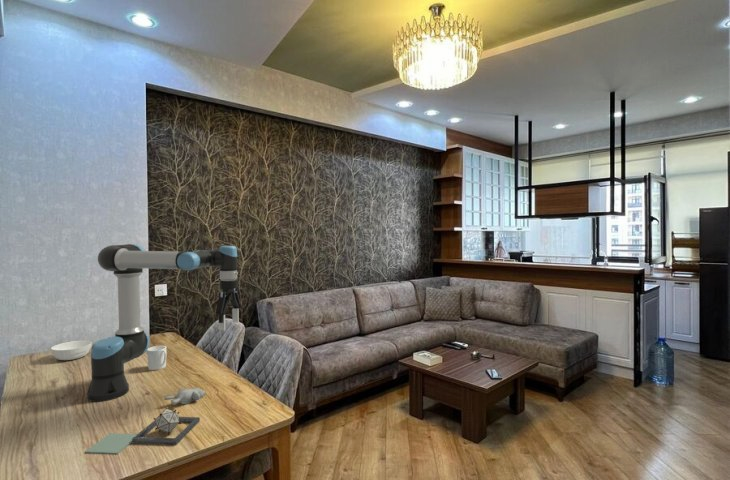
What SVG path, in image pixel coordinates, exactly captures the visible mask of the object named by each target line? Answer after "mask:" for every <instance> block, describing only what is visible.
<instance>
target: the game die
mask: <svg viewBox="0 0 730 480" xmlns="http://www.w3.org/2000/svg"><path fill="white" fill-rule="evenodd" d="M179 414H180V411H178V412H177V409H174V410H173V409H171V408H170V409H169V408H168V406H165V409H164V410H163V411H162V412H160V413H159V415H158V416H157V417H154V418H153V420H154V421H155V420H156V427H154V428H155V429H154V430H158V433H161V431H162V432H164V433H167V435H168V436H170V433H171V432H172V430H174V429H175V428H176V427H177V426H178V425H179V424H182V423H183V422H179V417H180V416H179Z"/></svg>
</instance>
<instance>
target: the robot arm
mask: <svg viewBox="0 0 730 480" xmlns="http://www.w3.org/2000/svg"><path fill="white" fill-rule="evenodd" d="M97 262H98V265H99V266H100V268H102V269H103V270H105V271H109V272H113V275H114V276H115V277H117V301H118V302H117V304H118V309H117V311H118V329H117V330H116V331H115V332H114V335H115V336H110V337H107V338H102V339H99V340H98V341H96V342H95V343H92V346H91V348H90V350H91V351H90V360H91V361H90V363H91V364H90V365H91V379H90V380H91V381H90V383H89V386H88V388H87V392H86V399H87V400H88V401H90V402H104V401H109V400H112V399H116V398H119V397H122V396H124V395H125V394H127V393H128V392H129V391H130V386H129V382H128V379H127V378H126V375H125V364H126V363H127V362H128V363H129V362H130V361H133V360H135V359H137V358H139V357H141V356H142V355H143V354H145V353H147V349H148V348H150V344H151V341H150V336H149V335H147V333H146V332H145V328H144V327H142V325H141V307H140V306H141V305H140V304H141V303H140V302H141V299H140V276H141V275H142V274H143V271H144V270H143V269H150V270H151V269H155V270H156V269H157V270H158V269H159V270H160V269H161V270H162V269H163V270H164V269H165V270H167V269H168V270H183V271H193V270H197V269H202V268H209V267H211V268H212V267H213V268H215V267H216V268H217V267H219V279H220V280H219V288H220V289H221V290H222V291H221V292H219V293H218V300H217V305H216V308H215V309H216V310H215V316H218V330H219V331H225V330H226V315H225V313H226V309H227V307H228V304H229V302H230V303H231V305H232V312H231V313H232V317H231V318H232V321H231V322H232V323H239V322H240V321H239V318H240V317H239V309H241V307H242V303H241V300H240V296H239V290H238V280H237V279H238V275H239V273H238V248H237V247H236V246H234V245H221V246H219V249H218V250H214V249H212V250H211V249H209V250H208V249H199V250H198V249H197V250H195V251H170V250H169V251H167V250H166V251H164V250H163V251H162V250H160V251H157V250H145V249H144V247H142V246H141V245H138V244H134V243H133V244H130V243H129V244H113V245H109V246H106V247H103V248H102V249H101V250H100V251H99V253H98V255H97Z"/></svg>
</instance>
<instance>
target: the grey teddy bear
mask: <svg viewBox="0 0 730 480" xmlns="http://www.w3.org/2000/svg"><path fill="white" fill-rule="evenodd" d="M205 395H206V390H203V389H202V388H199V387H193V388H181V389H179V390H178V391H177V393H176V394H175V395H165V396H164V399H163V400H164V401H169V400H170V403H171V405H177V404H182V405H183V406H184V405H188V404H190V403H191V402H193V401H200V400H201V399H203V398H204V396H205Z"/></svg>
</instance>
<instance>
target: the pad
mask: <svg viewBox="0 0 730 480" xmlns="http://www.w3.org/2000/svg"><path fill="white" fill-rule="evenodd" d="M137 434H138V433H118V432H117V433H115V432H113V433H112V432H110V433H108V435H106V436H104V437H103V438H102V439H100V440H99V441H98V442H96V443H95V444H93V445H92V446H90V447H89V448H88V449H87V450H85V451H84V453H85V454H105V455H108V454H109V455H118V454H120V453H121V452H122V451H124V450H125V449H126V448H127V447H128V446H130V445H131V444H133V443H132V438H133V437H135V436H136V435H137Z"/></svg>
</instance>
